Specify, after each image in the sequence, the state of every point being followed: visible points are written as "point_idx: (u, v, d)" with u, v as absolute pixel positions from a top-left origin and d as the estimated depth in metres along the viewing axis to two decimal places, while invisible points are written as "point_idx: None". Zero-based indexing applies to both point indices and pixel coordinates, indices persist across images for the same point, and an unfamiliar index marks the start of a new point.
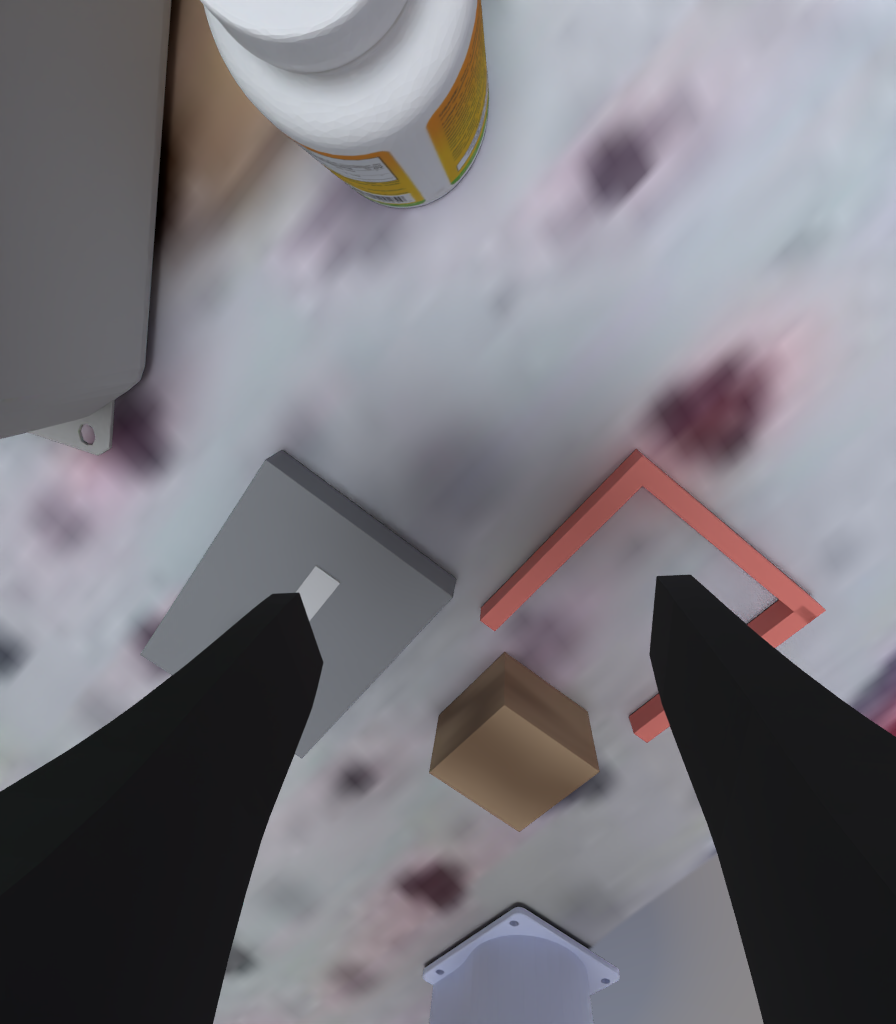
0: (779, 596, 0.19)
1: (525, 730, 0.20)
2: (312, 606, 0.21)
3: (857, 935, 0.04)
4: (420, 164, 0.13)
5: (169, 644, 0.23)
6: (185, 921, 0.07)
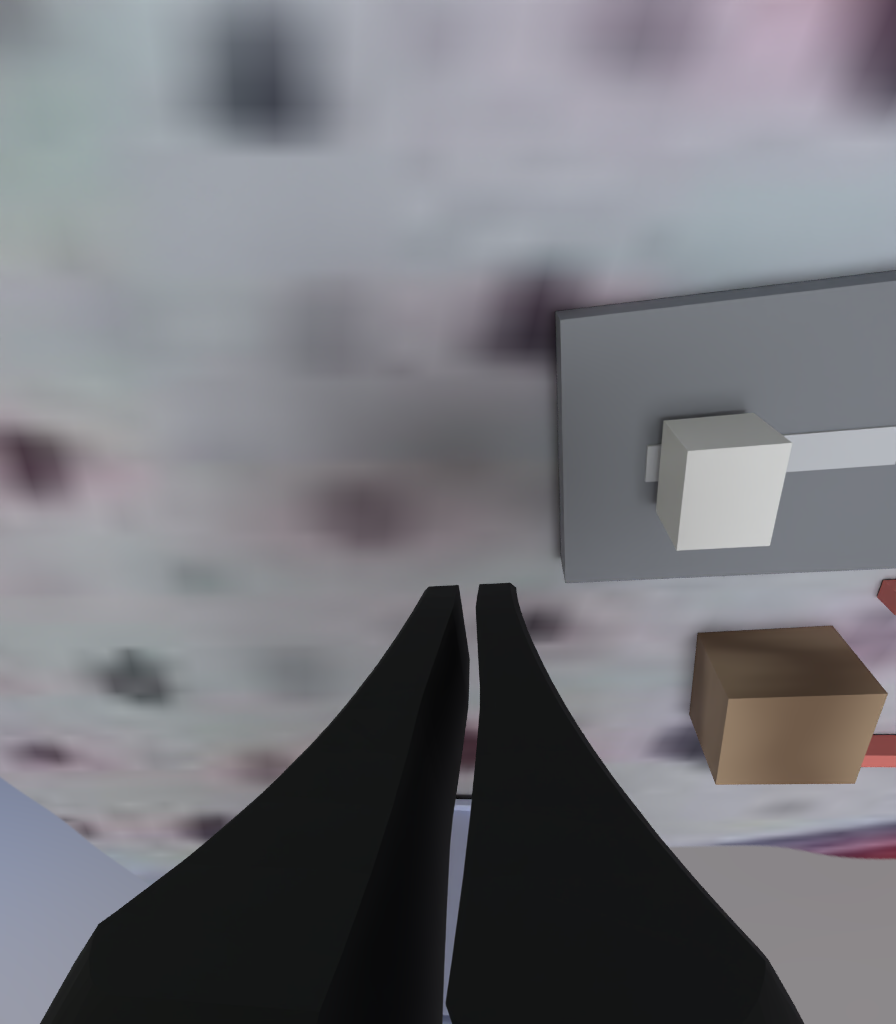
0: None
1: (863, 722, 0.18)
2: (833, 460, 0.15)
3: None
4: None
5: (617, 345, 0.14)
6: (427, 934, 0.06)
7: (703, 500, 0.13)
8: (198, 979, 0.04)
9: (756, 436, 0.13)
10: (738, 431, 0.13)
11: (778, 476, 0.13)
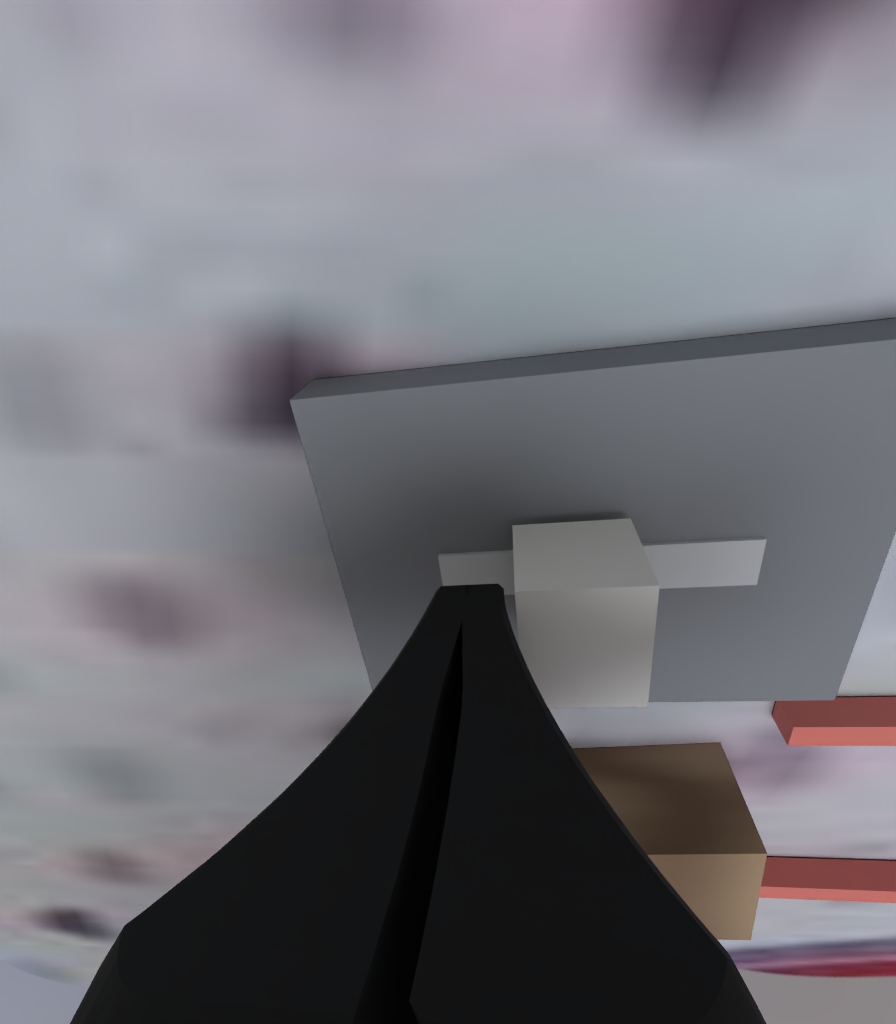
0: None
1: (744, 881, 0.14)
2: (676, 578, 0.11)
3: None
4: None
5: (371, 432, 0.10)
6: None
7: (548, 651, 0.09)
8: (230, 981, 0.04)
9: (617, 567, 0.09)
10: (597, 555, 0.09)
11: (646, 626, 0.09)
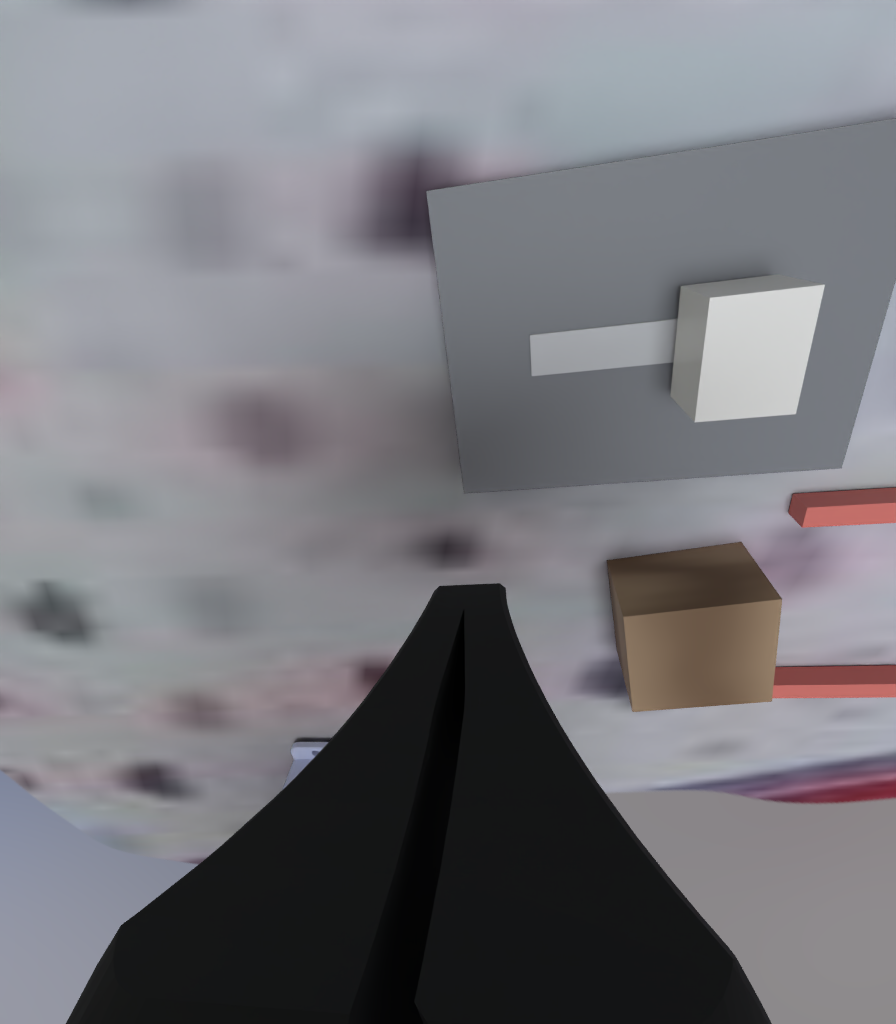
0: None
1: (764, 632, 0.17)
2: None
3: None
4: None
5: (487, 219, 0.13)
6: None
7: (724, 359, 0.12)
8: (225, 980, 0.04)
9: (784, 285, 0.12)
10: (764, 283, 0.12)
11: (808, 327, 0.12)
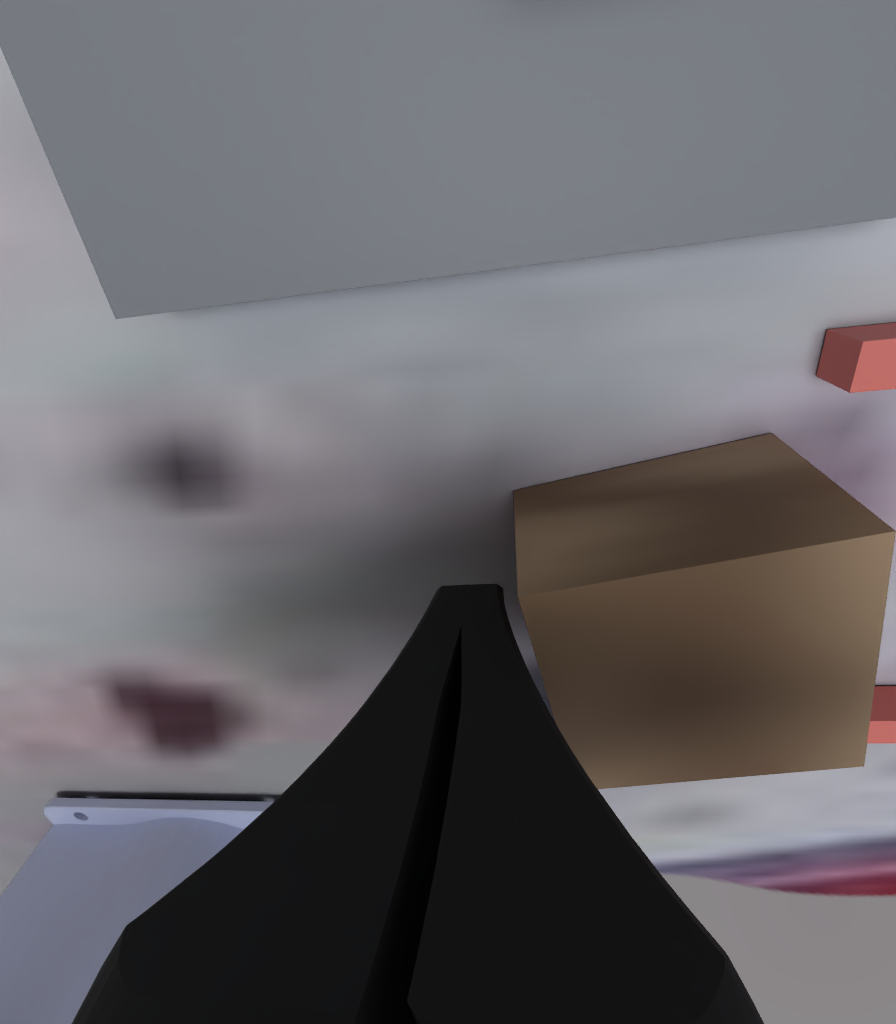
0: None
1: (849, 618, 0.07)
2: None
3: None
4: None
5: None
6: None
7: None
8: (231, 980, 0.04)
9: None
10: None
11: None
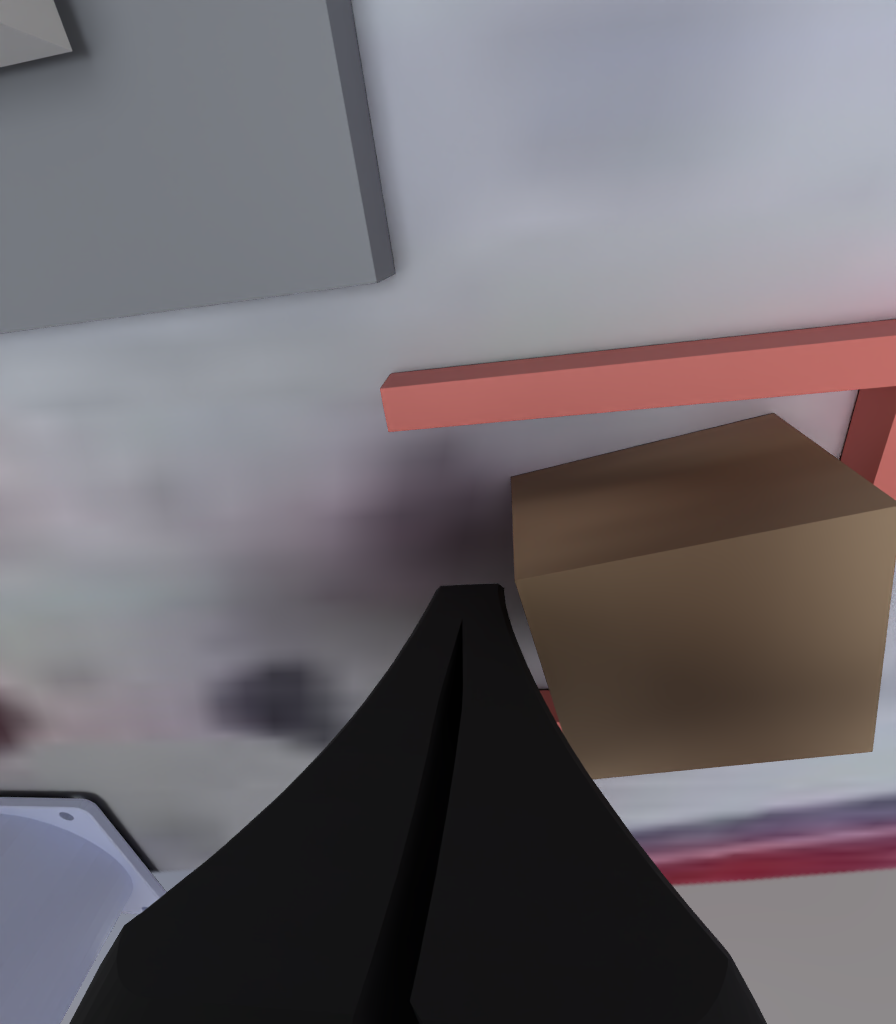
0: None
1: (855, 597, 0.07)
2: None
3: None
4: None
5: None
6: None
7: None
8: (229, 980, 0.04)
9: None
10: None
11: None
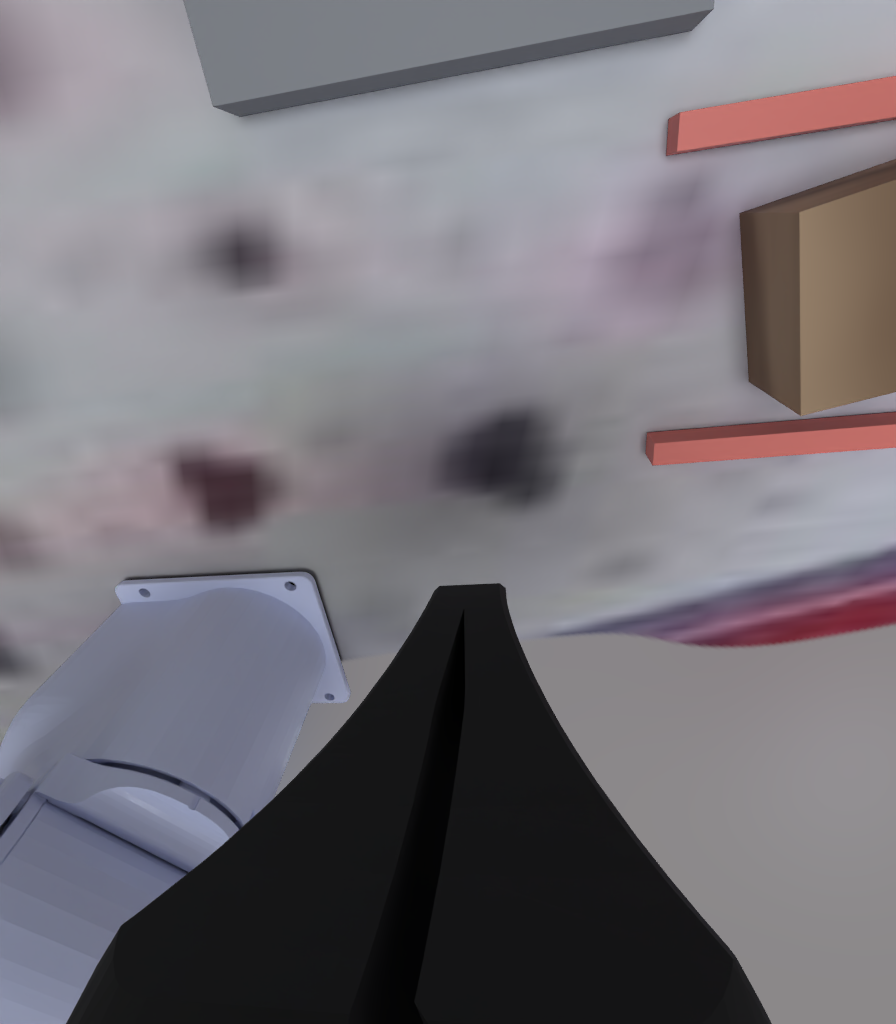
0: None
1: None
2: None
3: None
4: None
5: None
6: None
7: None
8: (225, 980, 0.04)
9: None
10: None
11: None
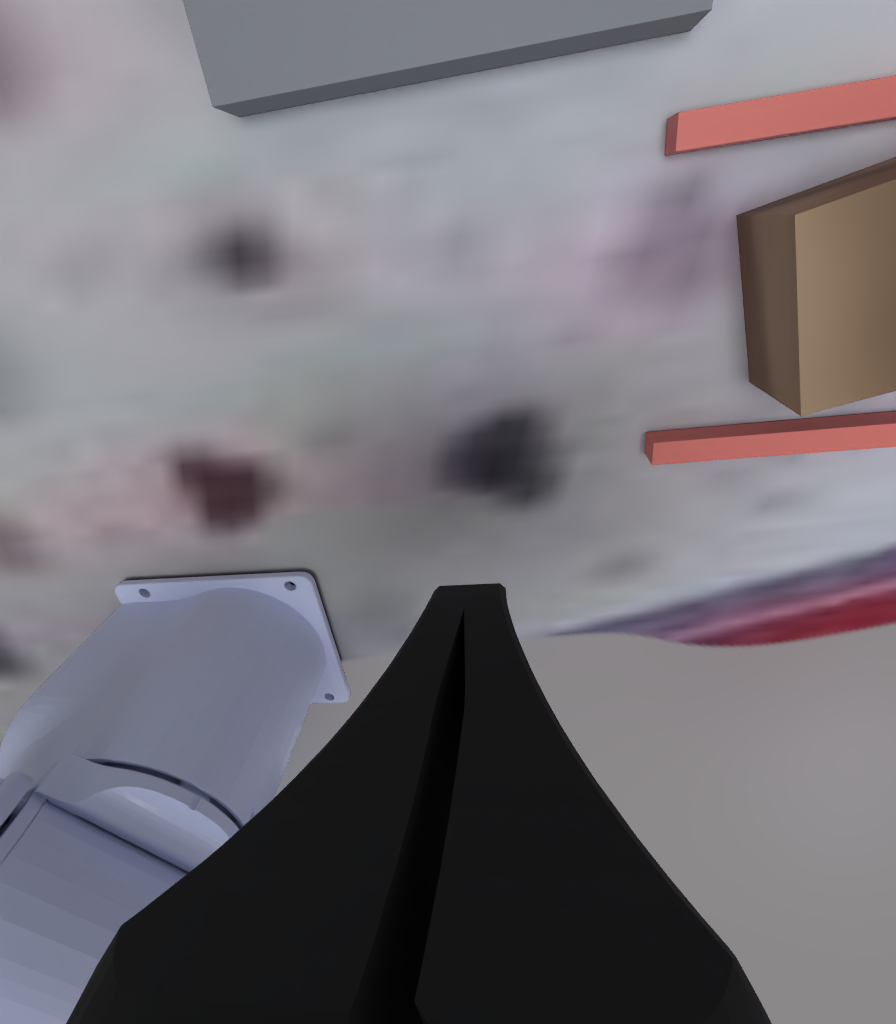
0: None
1: None
2: None
3: None
4: None
5: None
6: None
7: None
8: (225, 979, 0.04)
9: None
10: None
11: None
